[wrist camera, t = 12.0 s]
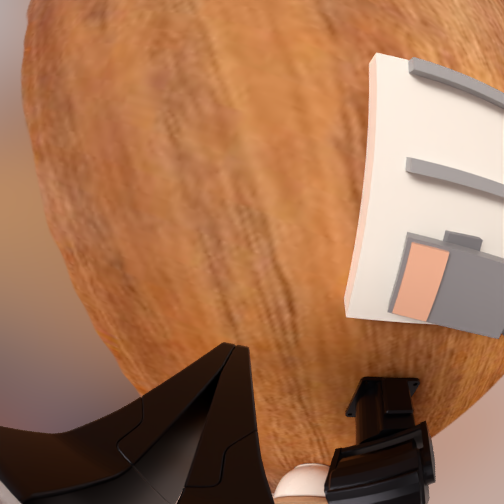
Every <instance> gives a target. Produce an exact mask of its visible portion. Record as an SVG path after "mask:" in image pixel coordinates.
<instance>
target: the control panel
mask: <svg viewBox="0 0 504 504" xmlns="http://www.w3.org/2000/svg"><path fill="white" fill-rule="evenodd" d="M407 232H410V233H414V234H418V235H422V236H426V237H430V238H434V239H438V240H442V241H446V242H449V243H453V244H457V245H460V246H464V247H467V248H471V249H474V250H478V251H481V252H485V253H488V254H491V255H495V256H498V257H501V258H504V93H502V92H501V91H499V90H497V89H495V88H493V87H491V86H489V85H487V84H485V83H482V82H480V81H478V80H476V79H474V78H471V77H469V76H467V75H464V74H462V73H459V72H457V71H454V70H452V69H449V68H446V67H443V66H440V65H438V64H435V63H432V62H428V61H425V60H422V59H419V58H415V57H413V58H412V59H410V60H406V59H402V58H398V57H393V56H389V55H384V54H379V53H376V54H375V55H374V57H373V58H372V60H371V62H370V63H369V118H368V138H367V152H366V164H365V174H364V184H363V192H362V200H361V208H360V215H359V222H358V228H357V235H356V241H355V246H354V252H353V257H352V263H351V268H350V273H349V278H348V283H347V287H346V292H345V296H344V303H345V312H346V317H350V318H359V319H370V320H381V321H392V322H405V323H420V324H432V323H428V322H424V321H420V320H416V319H412V318H408V317H404V316H400V315H396V314H392V313H389V312H387V311H388V304H389V300H390V297H391V294H392V291H393V287H394V284H395V280H396V276H397V273H398V269H399V265H400V261H401V257H402V253H403V248H404V244H405V239H406V235H407ZM502 334H503V335H504V329H503V331H502Z"/></svg>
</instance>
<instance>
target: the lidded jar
mask: <svg viewBox="0 0 504 504" xmlns="http://www.w3.org/2000/svg"><path fill="white" fill-rule="evenodd" d="M329 468H330V467H329V466H327V465H323V464H314V463H310V464H301V465H298V466H296V467H295V468H294V469H293V470H291V471H289V472H288V473H287V474H286V475H284V476H283V478H282V479H281V480H280V482H279V484H278V486H277V488H276V490H275V493H274V497H273V500H274V503H275V504H328V503H327V500H326V497H325V493H324V483H325V480H326V477H327V474H328V471H329Z"/></svg>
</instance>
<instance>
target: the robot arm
mask: <svg viewBox="0 0 504 504" xmlns="http://www.w3.org/2000/svg"><path fill="white" fill-rule="evenodd" d="M419 384H420V381H419V379H418V378H379V377H364V378H362V379H361V381H360V383H359V385H358V387H357V389H356V391H355V393H354V396H353V398H352V400H351V402H350V404H349V406H348V408H347V410H346V413H345V415H346V416H347V417H356V445H354V446H350V447H345V448H337V449H335V453H334V456H333V458H332V462H331V465H330V468H329V471H328V474H327V477H326V480H325V483H324V493H325V497H326V500H327V503H328V504H427V503H428V501H429V487H428V485H429V484H432V483H435V460H434V452H433V446H432V440H431V436H430V433H429V429H428V426H427V423H426V421H424V422H421V423H420V424H419V425H416V426H415V420H414V414H413V411H414V410H413V405H412V400H411V397H412V395H413V394H414V392H415V391H416V389H417V387H418V386H419ZM182 490H183V491H182ZM181 492H182V494H181ZM180 494H181V496H180ZM179 496H180V498H179ZM178 498H179V500H178V502H177V504H275V503H274V500H273V497H272V494H271V490H270V487H269V484H268V481H267V478H266V474H265V470H264V466H263V462H262V459H261V452H260V446H259V438H258V432H257V421H256V411H255V402H254V392H253V382H252V372H251V362H250V352H249V347H246V346H241V345H237V346H236V345H234V344H231V343H226V342H223V343H221V344H220V345H218V346H217V347H215V348H214V349H213V350H211V351H210V352H208V353H207V354H205V355H204V356H202V357H201V358H200V359H198V360H197V361H195V362H194V363H192V364H191V365H189V366H188V367H186V368H185V369H183V370H182V371H180V372H179V373H177V374H176V375H174V376H173V377H171V378H170V379H168V380H167V381H165V382H163V383H162V384H160V385H159V386H157V387H156V388H154V389H152V390H151V391H149V392H148V393H146V394H145V395H143V396H142V398H141V397H139V398H138V399H136V400H135V401H133V402H131V403H130V404H128V405H126V406H124V407H122V408H121V409H119V410H117V411H115V412H113V413H111V414H109V415H107V416H105V417H102V418H100V419H97V420H95V421H93V422H90V423H88V424H85V425H83V426H81V427H78V428H75V429H73V430H70V431H67V432H63V433H55V434H50V433H40V432H32V431H25V430H18V429H13V428H8V427H3V426H0V504H175V503H176V501H177V499H178Z"/></svg>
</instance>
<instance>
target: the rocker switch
mask: <svg viewBox="0 0 504 504" xmlns="http://www.w3.org/2000/svg"><path fill="white" fill-rule="evenodd" d="M387 312H389V313H392V314H396V315H400V316H404V317H408V318H412V319H416V320H420V321H424V322H428V323H432V324H436V325H440V326H445V327H449V328H453V329H457V330H461V331H466V332H470V333H474V334H479V335H483V336H488V337H492V338H497V339H499V337H500V335H501V333H502V331H503V329H504V258H501V257H498V256H495V255H491V254H488V253H485V252H481V251H478V250H474V249H471V248H467V247H464V246H460V245H457V244H453V243H449V242H446V241H442V240H438V239H434V238H430V237H426V236H422V235H418V234H414V233H410V232H407V235H406V239H405V244H404V248H403V253H402V257H401V261H400V265H399V269H398V273H397V276H396V280H395V284H394V287H393V291H392V294H391V297H390V300H389V304H388V311H387Z"/></svg>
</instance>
